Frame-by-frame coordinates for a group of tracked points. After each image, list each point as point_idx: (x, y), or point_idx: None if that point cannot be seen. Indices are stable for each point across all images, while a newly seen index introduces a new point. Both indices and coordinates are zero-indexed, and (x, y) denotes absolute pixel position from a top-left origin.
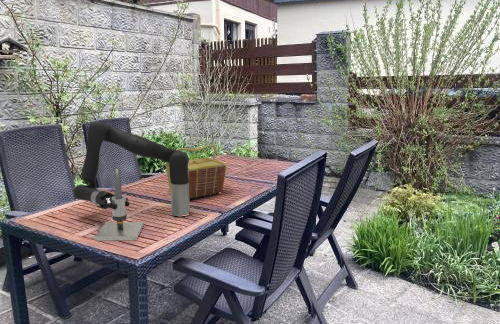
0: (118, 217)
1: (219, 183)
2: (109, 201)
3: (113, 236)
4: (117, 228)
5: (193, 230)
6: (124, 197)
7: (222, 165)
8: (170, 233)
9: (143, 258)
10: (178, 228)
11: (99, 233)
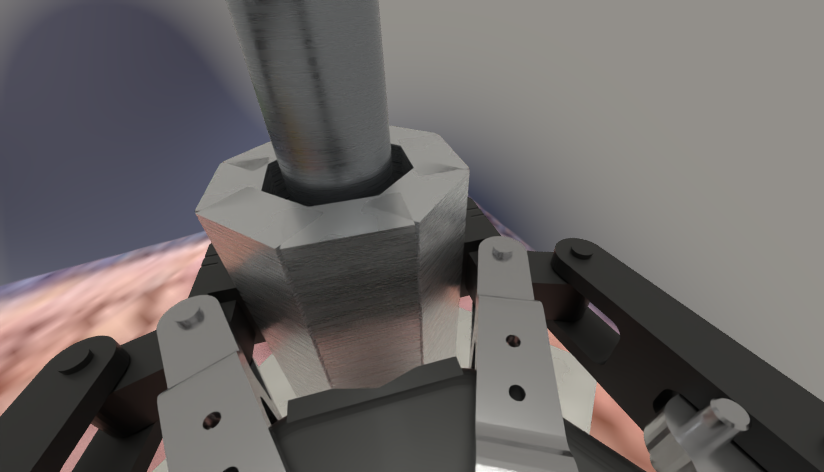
0: None
1: None
2: (494, 299)
3: (471, 313)
4: None
5: (97, 269)
6: (261, 151)
7: None
8: (191, 283)
9: None
10: (93, 321)
11: (568, 410)
